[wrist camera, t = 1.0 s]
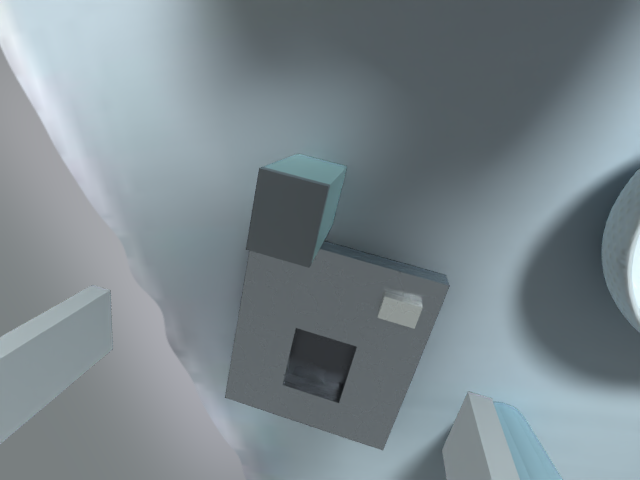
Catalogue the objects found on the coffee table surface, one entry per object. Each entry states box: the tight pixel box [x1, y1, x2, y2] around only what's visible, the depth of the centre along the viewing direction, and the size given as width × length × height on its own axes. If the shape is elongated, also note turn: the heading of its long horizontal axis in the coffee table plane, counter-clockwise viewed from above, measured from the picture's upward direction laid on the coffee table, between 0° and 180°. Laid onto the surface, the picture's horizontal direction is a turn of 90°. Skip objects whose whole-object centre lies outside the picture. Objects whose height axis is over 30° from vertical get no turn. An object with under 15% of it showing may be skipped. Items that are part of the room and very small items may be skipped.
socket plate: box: [225, 241, 450, 450], centre depth 31 cm, size 18×16×3 cm
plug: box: [246, 154, 347, 268], centre depth 24 cm, size 5×4×9 cm
